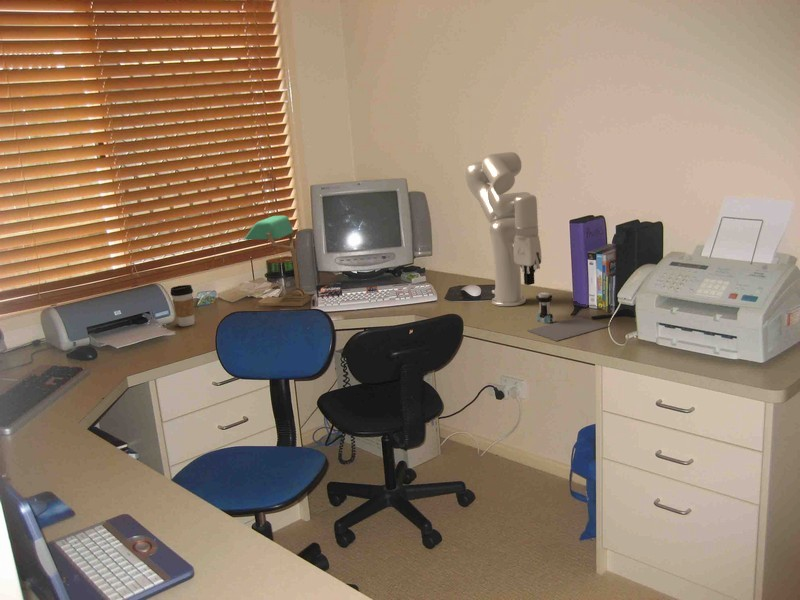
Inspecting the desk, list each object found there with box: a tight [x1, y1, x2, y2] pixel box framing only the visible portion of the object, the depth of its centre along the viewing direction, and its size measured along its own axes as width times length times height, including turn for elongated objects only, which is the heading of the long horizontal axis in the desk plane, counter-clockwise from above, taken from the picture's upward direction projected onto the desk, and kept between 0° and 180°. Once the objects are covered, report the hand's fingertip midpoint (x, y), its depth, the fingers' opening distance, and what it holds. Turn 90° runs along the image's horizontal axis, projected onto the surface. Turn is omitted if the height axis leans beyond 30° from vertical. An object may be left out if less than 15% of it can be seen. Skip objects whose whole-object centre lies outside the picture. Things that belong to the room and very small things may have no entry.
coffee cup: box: [169, 284, 196, 327], centre depth 297 cm, size 8×8×15 cm
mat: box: [527, 316, 610, 342], centre depth 255 cm, size 14×22×1 cm, turn 119°
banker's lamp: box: [243, 215, 311, 307], centre depth 314 cm, size 16×21×35 cm
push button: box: [535, 291, 557, 324], centre depth 263 cm, size 7×5×10 cm
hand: (529, 284), depth 268 cm, fingers closed
